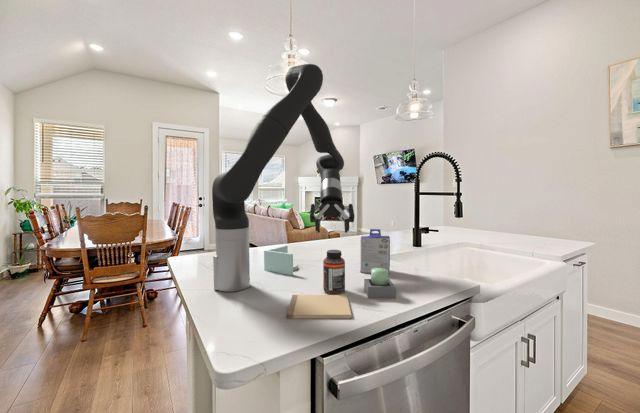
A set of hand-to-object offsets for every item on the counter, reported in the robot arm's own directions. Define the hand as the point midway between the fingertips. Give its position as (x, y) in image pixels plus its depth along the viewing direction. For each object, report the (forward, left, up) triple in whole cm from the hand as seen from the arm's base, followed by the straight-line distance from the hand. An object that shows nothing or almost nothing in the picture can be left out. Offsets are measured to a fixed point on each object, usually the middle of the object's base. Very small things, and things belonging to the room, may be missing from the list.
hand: (332, 231), depth 89 cm
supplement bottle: (0, -11, -15) cm, 19 cm away
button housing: (+12, -13, -15) cm, 23 cm away
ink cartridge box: (+15, +9, -16) cm, 24 cm away
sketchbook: (-4, -22, -15) cm, 27 cm away
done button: (+12, -13, -12) cm, 21 cm away
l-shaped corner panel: (-15, +13, -16) cm, 26 cm away
